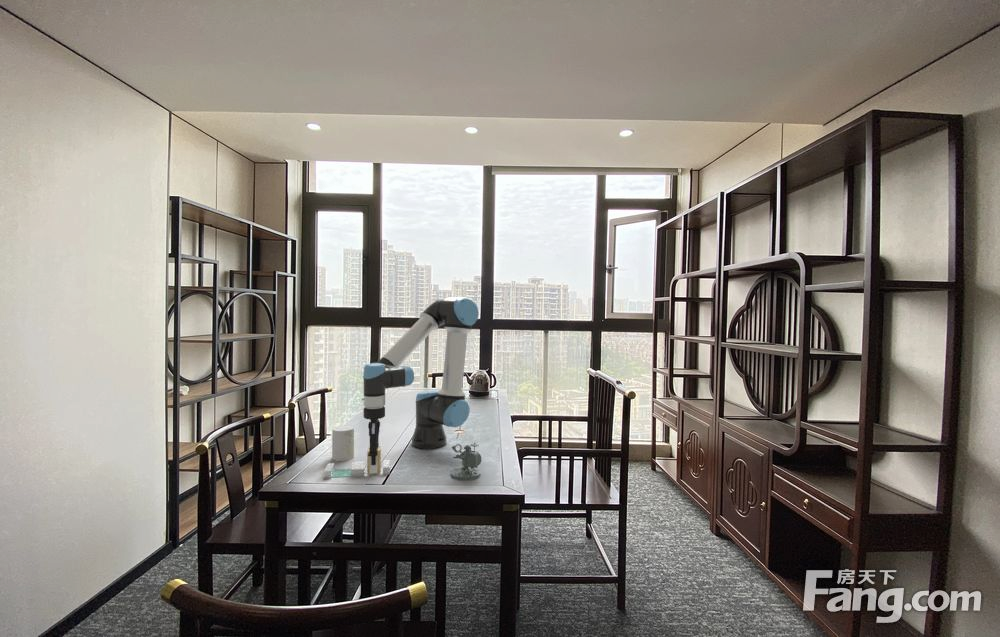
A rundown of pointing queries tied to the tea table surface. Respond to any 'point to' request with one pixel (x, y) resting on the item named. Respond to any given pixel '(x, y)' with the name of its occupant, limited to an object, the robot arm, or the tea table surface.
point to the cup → (342, 443)
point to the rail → (354, 470)
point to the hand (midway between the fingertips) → (374, 470)
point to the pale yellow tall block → (378, 460)
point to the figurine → (467, 463)
